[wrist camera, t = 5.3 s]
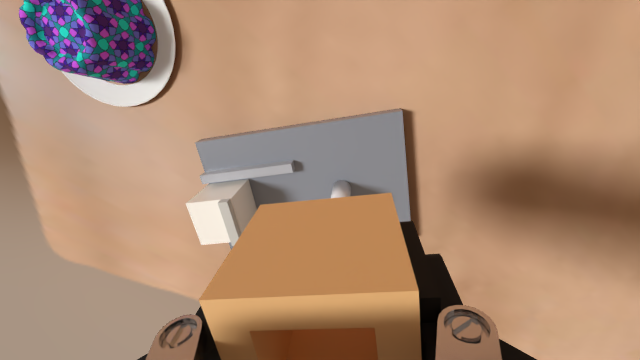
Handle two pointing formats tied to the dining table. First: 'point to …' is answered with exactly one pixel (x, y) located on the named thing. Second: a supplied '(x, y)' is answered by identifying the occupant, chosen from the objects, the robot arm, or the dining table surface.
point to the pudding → (104, 45)
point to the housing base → (315, 160)
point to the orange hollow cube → (317, 285)
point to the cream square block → (222, 211)
